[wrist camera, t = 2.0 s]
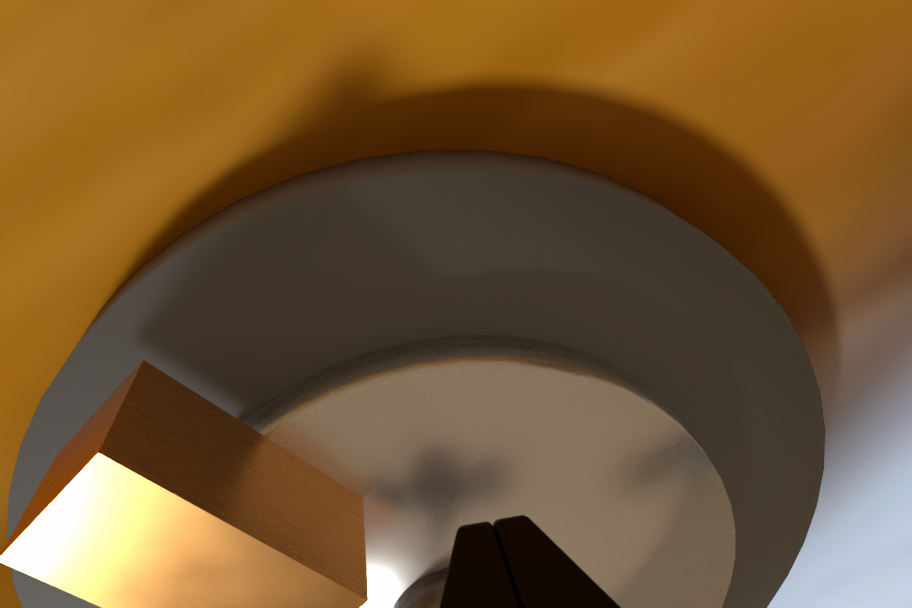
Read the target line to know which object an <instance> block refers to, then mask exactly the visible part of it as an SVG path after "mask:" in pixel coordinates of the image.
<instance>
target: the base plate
mask: <svg viewBox="0 0 912 608" xmlns="http://www.w3.org/2000/svg"><path fill="white" fill-rule="evenodd" d="M474 335H499V336H508V337H517V338H527V339H536V340H540V341H545V342H549V343H553V344H557V345H561V346H565V347H570V348H574V349H576V350H579V351H581V352H584V353H586V354H589V355H592V356H594V357H597V358H599V359H602V360H605V361H607V362H609V363H610V364H612V365H614V366H616V367H618V368H619V369H621V370H623V371H625V372H626V373H628V374H630V375H632V376H633V377H635V378H637V379H638V380H639V381H640V382H642V383H643V384H644V385H645V386H647V387H648V388H649V389H650V390H652V391H653V392H654V393H655V394H657V395H658V396H659V397H660V398H661V399H662V400H663V401H664V402H665V403H666V404H667V406H668V407H669V408H670V409H671V410H672V411H673V412H674V413H675V414H676V416H677V417H678V418H679V419H680V420H681V422H682V423H683V424H684V426H685V427H686V428H687V430H688V431H689V432H690V434H691V435H692V436H693V438H694V439H695V440H696V441H697V443H698V444H699V445H700V447H701V448H702V449H703V451H704V452H705V453H706V455H707V456H708V458H709V460H710V461H711V463H712V464H713V466H714V468H715V469H716V471H717V473H718V474H719V476H720V477H721V479H722V482H723V484H724V487H725V490H726V492H727V495H728V498H729V500H730V503H731V507H732V513H733V518H734V524H735V530H736V540H735V561H734V567H733V572H732V578H731V583H730V586H729V589H728V591H727V594H726V597H725V600H724V603H723V606H722V608H767V606H768V605H769V603H770V602H771V600H772V599H773V597H774V596H775V594H776V593H777V591H778V590H779V588H780V587H781V585H782V584H783V582H784V580H785V579H786V577H787V576H788V574H789V572H790V570H791V568H792V566H793V564H794V562H795V560H796V558H797V556H798V554H799V552H800V550H801V548H802V545H803V543H804V541H805V538H806V535H807V532H808V529H809V527H810V524H811V521H812V518H813V515H814V512H815V509H816V506H817V501H818V496H819V490H820V485H821V480H822V475H823V470H824V443H825V427H824V420H823V412H822V405H821V397H820V391H819V388H818V385H817V381H816V378H815V375H814V372H813V369H812V366H811V363H810V359H809V356H808V353H807V351H806V349H805V347H804V345H803V344H802V342H801V340H800V338H799V336H798V334H797V332H796V330H795V329H794V327H793V325H792V323H791V321H790V319H789V317H788V315H787V314H786V313H785V311H784V310H783V309H782V308H781V306H780V305H779V304H778V303H777V301H776V300H775V299H774V297H773V296H772V295H771V294H770V292H769V291H768V290H767V289H766V287H765V286H764V285H763V284H762V282H761V281H760V280H759V279H758V278H757V277H756V276H755V275H754V274H753V273H752V272H751V271H749V270H748V269H747V268H746V267H745V266H744V265H743V264H742V263H740V262H739V261H738V260H737V259H736V258H735V257H734V256H733V255H731V254H730V253H729V252H728V251H727V250H726V249H725V248H724V247H723V246H721V245H720V244H718V243H717V242H716V241H714V240H713V239H712V238H710V237H709V236H707V235H706V234H705V233H703V232H702V231H701V230H699V229H698V228H696V227H695V226H694V225H692V224H691V223H690V222H688V221H687V220H685V219H684V218H682V217H681V216H679V215H677V214H676V213H674V212H673V211H671V210H670V209H668V208H666V207H665V206H663V205H662V204H660V203H658V202H657V201H655V200H654V199H652V198H651V197H649V196H647V195H646V194H644V193H642V192H640V191H637V190H635V189H633V188H630V187H628V186H626V185H624V184H621V183H619V182H617V181H614V180H612V179H610V178H607V177H605V176H603V175H601V174H598V173H596V172H592V171H589V170H585V169H581V168H578V167H574V166H570V165H567V164H563V163H559V162H556V161H552V160H548V159H545V158H540V157H532V156H524V155H516V154H509V153H501V152H493V151H485V150H442V151H415V152H408V153H400V154H393V155H386V156H379V157H372V158H364V159H358V160H354V161H350V162H347V163H343V164H339V165H336V166H332V167H328V168H325V169H321V170H318V171H314V172H310V173H307V174H303V175H299V176H296V177H294V178H291V179H289V180H286V181H284V182H282V183H279V184H277V185H275V186H272V187H270V188H267V189H265V190H263V191H260V192H258V193H256V194H253V195H251V196H249V197H246V198H244V199H241V200H239V201H237V202H235V203H234V204H232V205H230V206H229V207H227V208H225V209H224V210H222V211H220V212H218V213H217V214H215V215H213V216H212V217H210V218H208V219H207V220H205V221H203V222H202V223H200V224H198V225H196V226H195V227H193V228H191V229H190V230H188V231H186V232H185V233H183V234H182V235H181V236H180V237H178V238H177V239H176V240H175V241H173V242H172V243H171V244H170V245H168V246H167V247H166V248H165V249H163V250H162V251H161V252H160V253H158V254H157V255H156V256H155V257H153V258H152V259H151V260H150V261H148V262H147V263H146V264H145V265H143V266H142V267H141V268H140V269H138V271H137V272H136V273H135V274H134V275H133V276H132V277H131V278H130V279H129V280H128V281H127V282H126V283H125V285H124V286H123V287H122V288H121V289H120V290H119V291H118V292H117V293H116V294H115V295H114V296H113V298H112V299H111V300H110V301H109V302H108V303H107V304H106V305H105V306H104V307H103V308H102V309H101V310H100V312H99V313H98V315H97V316H96V318H95V319H94V321H93V322H92V324H91V325H90V327H89V328H88V330H87V331H86V332H85V334H84V335H83V337H82V338H81V340H80V341H79V343H78V344H77V346H76V347H75V349H74V350H73V352H72V353H71V355H70V356H69V358H68V359H67V361H66V362H65V364H64V365H63V367H62V368H61V370H60V371H59V373H58V374H57V376H56V377H55V379H54V380H53V382H52V383H51V384H50V386H49V387H48V389H47V390H46V392H45V393H44V395H43V396H42V398H41V401H40V403H39V405H38V407H37V410H36V412H35V414H34V416H33V419H32V421H31V423H30V425H29V428H28V430H27V432H26V434H25V437H24V439H23V441H22V443H21V446H20V450H19V454H18V458H17V462H16V467H15V471H14V475H13V479H12V484H11V488H10V492H9V506H8V530H7V542H8V540H9V538H10V536H11V534H12V533H13V531H14V529H15V527H16V526H17V524H18V522H19V520H20V519H21V517H22V515H23V513H24V512H25V510H26V508H27V506H28V505H29V503H30V501H31V499H32V498H33V496H34V494H35V492H36V491H37V489H38V487H39V485H40V483H41V482H42V480H43V478H44V476H45V475H46V473H47V471H48V469H49V468H50V466H51V464H52V462H53V461H54V459H55V457H56V455H57V454H58V452H59V451H60V450H61V449H62V448H63V447H64V445H65V444H66V443H67V442H68V441H69V440H70V439H71V438H72V437H73V436H74V435H75V434H76V432H77V431H78V430H79V429H80V428H81V427H82V426H83V425H84V424H85V423H86V422H87V421H88V419H89V418H90V417H91V416H92V415H93V414H94V413H95V412H96V411H97V410H98V409H99V407H100V406H101V405H102V404H103V403H104V402H105V401H106V400H107V399H108V398H109V397H110V396H111V394H112V393H113V392H114V391H115V390H116V389H117V388H118V387H119V386H120V385H121V384H122V383H123V381H124V380H125V379H126V378H127V377H128V376H129V375H130V374H131V373H132V372H133V371H134V369H135V368H136V367H137V366H138V365H139V364H140V363H141V362H142V361H143V360H145V361H146V362H148V363H149V364H151V365H152V366H154V367H156V368H157V369H159V370H160V371H162V372H164V373H165V374H167V375H168V376H170V377H172V378H173V379H175V380H176V381H178V382H179V383H181V384H183V385H184V386H186V387H187V388H189V389H191V390H192V391H194V392H195V393H197V394H198V395H200V396H202V397H203V398H205V399H206V400H208V401H210V402H211V403H213V404H214V405H216V406H218V407H219V408H221V409H222V410H224V411H225V412H227V413H229V414H230V415H232V416H233V417H235V418H237V419H238V420H240V421H241V422H243V421H245V420H246V419H247V418H248V417H249V416H250V415H251V414H253V413H254V412H255V411H256V410H257V409H258V408H260V407H261V406H263V405H264V404H266V403H267V402H269V401H270V400H272V399H273V398H275V397H276V396H278V395H279V394H281V393H282V392H284V391H285V390H286V389H288V388H289V387H291V386H292V385H294V384H296V383H298V382H300V381H302V380H304V379H306V378H308V377H310V376H312V375H314V374H316V373H318V372H320V371H322V370H324V369H326V368H328V367H330V366H332V365H335V364H338V363H341V362H343V361H346V360H349V359H351V358H354V357H357V356H360V355H362V354H365V353H368V352H370V351H374V350H378V349H382V348H387V347H391V346H395V345H399V344H403V343H407V342H411V341H417V340H425V339H433V338H441V337H449V336H474ZM11 569H12V576H13V582H14V586H15V589H16V592H17V594H18V597H19V600H20V603H21V606H22V608H102V607H99V606H97V605H95V604H93V603H91V602H88V601H86V600H84V599H82V598H79V597H77V596H75V595H73V594H70V593H68V592H66V591H64V590H61V589H59V588H57V587H55V586H52V585H50V584H48V583H46V582H43V581H41V580H39V579H37V578H34V577H32V576H30V575H28V574H25V573H23V572H21V571H19V570H17V569H14V568H12V567H11Z"/></svg>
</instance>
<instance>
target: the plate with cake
mask: <svg viewBox="0 0 912 608" xmlns="http://www.w3.org/2000/svg"><path fill="white" fill-rule="evenodd" d="M518 515H525V516H527V517H529V518H530V519H531V520H532V521H533V522H534V523H535V524H536V525H537V526H538V527H539V528H540V529H541V530H542V531H543V532H544V533H545V534H546V535H547V536H548V537H549V538H550V539H551V540H552V541H553V542H554V543H555V544H556V545H558V546H559V547H560V548H561V549H562V550H563V551H564V552H565V553H566V554H567V555H568V556H569V557H570V558H571V559H572V560H573V561H574V562H575V563H576V564H577V565H578V566H579V567H580V568H581V569H582V570H583V571H584V572H585V573H586V574H587V575H588V576H589V577H590V578H591V579H592V580H593V581H594V582H595V583H596V584H597V585H598V586H599V587H600V588H601V589H603V590H604V591H605V592H606V593H607V594H608V595H609V596H610V597H611V598H612V599H613V600H614V601H615V602H616V603H617V604H618V605H619V606H620V607H621V608H722V606H723V603H724V600H725V597H726V594H727V591H728V589H729V586H730V583H731V578H732V572H733V567H734V561H735V540H736V530H735V524H734V518H733V513H732V507H731V503H730V500H729V498H728V495H727V492H726V490H725V487H724V484H723V482H722V479H721V477H720V476H719V474H718V473H717V471H716V469H715V468H714V466H713V464H712V463H711V461H710V460H709V458H708V456H707V455H706V453H705V452H704V451H703V449H702V448H701V447H700V445H699V444H698V443H697V441H696V440H695V439H694V438H693V436H692V435H691V434H690V432H689V431H688V430H687V428H686V427H685V426H684V424H683V423H682V422H681V420H680V419H679V418H678V417H677V416H676V414H675V413H674V412H673V411H672V410H671V409H670V408H669V407H668V406H667V404H666V403H665V402H664V401H663V400H662V399H661V398H660V397H659V396H658V395H657V394H655V393H654V392H653V391H652V390H650V389H649V388H648V387H647V386H645V385H644V384H643V383H642V382H640V381H639V380H638V379H637V378H635V377H633V376H632V375H630V374H628V373H626V372H625V371H623V370H621V369H619V368H618V367H616V366H614V365H612V364H610V363H609V362H607V361H605V360H602V359H599V358H597V357H594V356H592V355H589V354H586V353H584V352H581V351H579V350H576V349H574V348H570V347H565V346H561V345H557V344H553V343H549V342H545V341H540V340H536V339H527V338H517V337H508V336H499V335H474V336H449V337H441V338H433V339H425V340H417V341H411V342H407V343H403V344H399V345H395V346H391V347H387V348H382V349H378V350H374V351H370V352H368V353H365V354H362V355H360V356H357V357H354V358H351V359H349V360H346V361H343V362H341V363H338V364H335V365H332V366H330V367H328V368H326V369H324V370H322V371H320V372H318V373H316V374H314V375H312V376H310V377H308V378H306V379H304V380H302V381H300V382H298V383H296V384H294V385H292V386H291V387H289V388H288V389H286V390H285V391H284V392H282V393H281V394H279V395H278V396H276V397H275V398H273V399H272V400H270V401H269V402H267V403H266V404H264V405H263V406H261V407H260V408H258V409H257V410H256V411H255V412H254V413H253V414H251V415H250V416H249V417H248V418H247V419H246V420H245V421H243V422H241V421H240V420H238V419H237V418H235V417H233V416H232V415H230V414H229V413H227V412H225V411H224V410H222V409H221V408H219V407H218V406H216V405H214V404H213V403H211V402H210V401H208V400H206V399H205V398H203V397H202V396H200V395H198V394H197V393H195V392H194V391H192V390H191V389H189V388H187V387H186V386H184V385H183V384H181V383H179V382H178V381H176V380H175V379H173V378H172V377H170V376H168V375H167V374H165V373H164V372H162V371H160V370H159V369H157V368H156V367H154V366H152V365H151V364H149V363H148V362H146V361H145V360H143V361H142V362H141V363H140V364H139V365H138V366H137V367H136V368H135V369H134V371H133V372H132V373H131V374H130V375H129V376H128V377H127V378H126V379H125V380H124V381H123V383H122V384H121V385H120V386H119V387H118V388H117V389H116V390H115V391H114V392H113V393H112V394H111V396H110V397H109V398H108V399H107V400H106V401H105V402H104V403H103V404H102V405H101V406H100V407H99V409H98V410H97V411H96V412H95V413H94V414H93V415H92V416H91V417H90V418H89V419H88V421H87V422H86V423H85V424H84V425H83V426H82V427H81V428H80V429H79V430H78V431H77V432H76V434H75V435H74V436H73V437H72V438H71V439H70V440H69V441H68V442H67V443H66V444H65V445H64V447H63V448H62V449H61V450H60V451H59V452H58V454H57V455H56V457H55V459H54V461H53V462H52V464H51V466H50V468H49V469H48V471H47V473H46V475H45V476H44V478H43V480H42V482H41V483H40V485H39V487H38V489H37V491H36V492H35V494H34V496H33V498H32V499H31V501H30V503H29V505H28V506H27V508H26V510H25V512H24V513H23V515H22V517H21V519H20V520H19V522H18V524H17V526H16V527H15V529H14V531H13V533H12V534H11V536H10V538H9V540H8V542H7V543H6V545H5V547H4V549H3V550H2V552H1V554H0V562H1V563H3V564H5V565H8V566H10V567H12V568H14V569H17V570H19V571H21V572H23V573H25V574H28V575H30V576H32V577H34V578H37V579H39V580H41V581H43V582H46V583H48V584H50V585H52V586H55V587H57V588H59V589H61V590H64V591H66V592H68V593H70V594H73V595H75V596H77V597H79V598H82V599H84V600H86V601H88V602H91V603H93V604H95V605H97V606H99V607H102V608H439V606H440V602H441V597H442V593H443V588H444V584H445V580H446V575H447V571H448V567H449V562H450V558H451V553H452V549H453V545H454V540H455V536H456V532H457V530H458V528H459V527H460V526H462V525H467V524H473V523H479V522H484V521H488V522H490V523H491V524H492V525H493V523H494V521H496V520H497V519H501V518H507V517H513V516H518Z"/></svg>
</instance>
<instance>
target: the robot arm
mask: <svg viewBox="0 0 912 608" xmlns="http://www.w3.org/2000/svg"><path fill="white" fill-rule="evenodd" d="M439 608H621V607H620V606H619V605H618V604H617V603H616V602H615V601H614V600H613V599H612V598H611V597H610V596H609V595H608V594H607V593H606V592H605V591H604V590H603V589H601V588H600V587H599V586H598V585H597V584H596V583H595V582H594V581H593V580H592V579H591V578H590V577H589V576H588V575H587V574H586V573H585V572H584V571H583V570H582V569H581V568H580V567H579V566H578V565H577V564H576V563H575V562H574V561H573V560H572V559H571V558H570V557H569V556H568V555H567V554H566V553H565V552H564V551H563V550H562V549H561V548H560V547H559V546H558V545H556V544H555V543H554V542H553V541H552V540H551V539H550V538H549V537H548V536H547V535H546V534H545V533H544V532H543V531H542V530H541V529H540V528H539V527H538V526H537V525H536V524H535V523H534V522H533V521H532V520H531V519H530V518H529V517H527V516H525V515H518V516H513V517H507V518H501V519H497V520H496V521H494V523H493V525H492V524H491V523H490V522H488V521H484V522H479V523H473V524H467V525H462V526H460V527H459V528H458V530H457V532H456V536H455V540H454V545H453V549H452V553H451V558H450V562H449V567H448V571H447V575H446V580H445V584H444V588H443V593H442V597H441V602H440V606H439Z"/></svg>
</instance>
